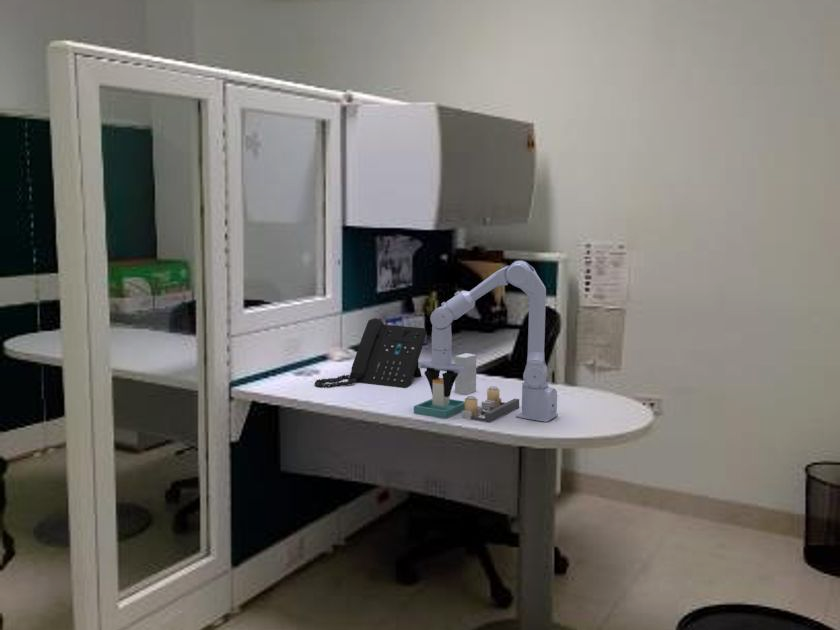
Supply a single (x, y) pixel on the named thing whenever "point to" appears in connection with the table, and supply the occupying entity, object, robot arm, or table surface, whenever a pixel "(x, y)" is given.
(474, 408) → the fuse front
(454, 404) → the tray
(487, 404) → the holder block
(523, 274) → the robot arm
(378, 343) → the office phone
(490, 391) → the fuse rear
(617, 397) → the table surface
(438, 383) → the block
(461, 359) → the skincare box
